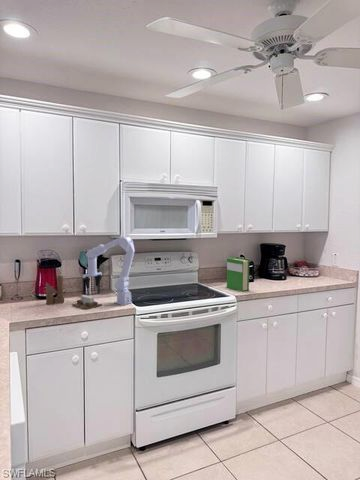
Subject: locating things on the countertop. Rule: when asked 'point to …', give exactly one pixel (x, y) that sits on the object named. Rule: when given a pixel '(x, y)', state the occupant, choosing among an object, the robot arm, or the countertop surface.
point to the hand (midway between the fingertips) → (92, 287)
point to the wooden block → (51, 290)
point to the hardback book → (238, 274)
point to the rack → (86, 305)
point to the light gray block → (87, 299)
